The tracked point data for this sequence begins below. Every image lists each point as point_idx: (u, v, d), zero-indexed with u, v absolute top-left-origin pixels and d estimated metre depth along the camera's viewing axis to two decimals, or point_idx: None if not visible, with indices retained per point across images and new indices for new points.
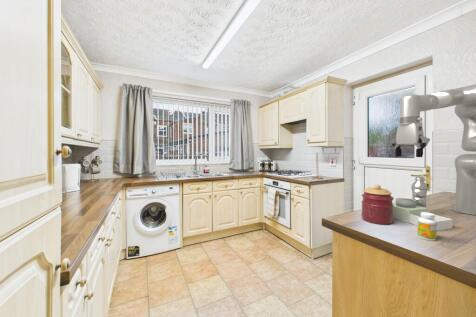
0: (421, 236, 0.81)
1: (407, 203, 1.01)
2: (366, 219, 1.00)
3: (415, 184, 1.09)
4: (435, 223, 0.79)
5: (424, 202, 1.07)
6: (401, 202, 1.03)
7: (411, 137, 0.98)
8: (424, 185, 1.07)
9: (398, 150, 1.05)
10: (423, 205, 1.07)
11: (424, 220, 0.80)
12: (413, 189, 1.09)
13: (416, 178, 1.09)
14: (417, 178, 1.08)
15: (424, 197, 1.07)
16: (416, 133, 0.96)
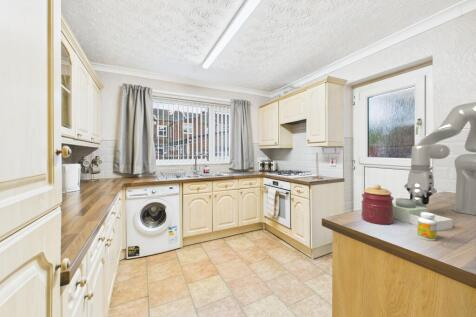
0: (421, 236, 0.81)
1: (407, 203, 1.01)
2: (366, 219, 1.00)
3: (415, 184, 1.09)
4: (435, 223, 0.79)
5: None
6: (401, 202, 1.03)
7: (422, 184, 1.06)
8: None
9: None
10: (423, 205, 1.07)
11: (424, 220, 0.80)
12: (413, 189, 1.09)
13: None
14: None
15: None
16: (427, 181, 1.04)
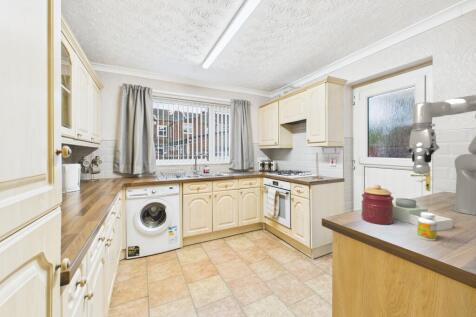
0: (421, 236, 0.81)
1: (407, 203, 1.01)
2: (366, 219, 1.00)
3: (417, 143, 1.08)
4: (435, 223, 0.79)
5: None
6: (401, 202, 1.03)
7: (424, 142, 1.05)
8: None
9: None
10: (425, 163, 1.06)
11: (424, 220, 0.80)
12: (415, 148, 1.08)
13: None
14: None
15: None
16: (429, 138, 1.03)
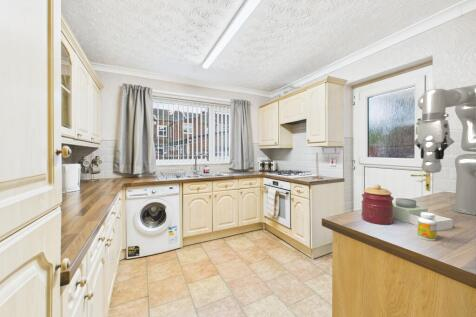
0: (421, 236, 0.81)
1: (407, 203, 1.01)
2: (366, 219, 1.00)
3: (427, 136, 0.92)
4: (435, 223, 0.79)
5: None
6: (401, 202, 1.03)
7: (436, 135, 0.89)
8: None
9: None
10: (437, 160, 0.91)
11: (424, 220, 0.80)
12: (425, 143, 0.93)
13: None
14: None
15: None
16: (442, 131, 0.88)
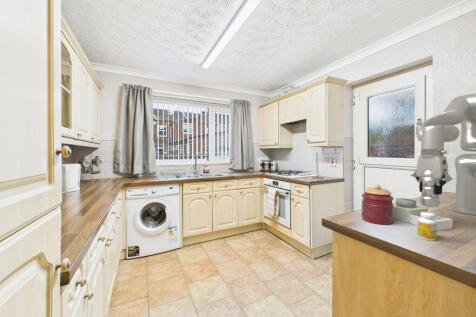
0: (421, 236, 0.81)
1: (407, 203, 1.01)
2: (366, 219, 1.00)
3: (425, 171, 0.93)
4: (435, 223, 0.79)
5: None
6: (401, 202, 1.03)
7: (434, 171, 0.90)
8: None
9: None
10: (435, 196, 0.91)
11: (424, 220, 0.80)
12: (423, 177, 0.94)
13: None
14: None
15: None
16: (440, 167, 0.89)
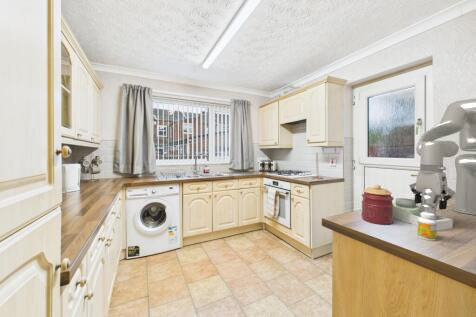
0: (421, 236, 0.81)
1: (407, 203, 1.01)
2: (366, 219, 1.00)
3: (427, 190, 0.93)
4: (435, 223, 0.79)
5: (434, 211, 0.93)
6: (401, 202, 1.03)
7: (434, 187, 0.91)
8: None
9: (418, 197, 0.98)
10: None
11: (424, 220, 0.80)
12: (424, 195, 0.94)
13: None
14: None
15: (435, 205, 0.92)
16: (439, 184, 0.89)
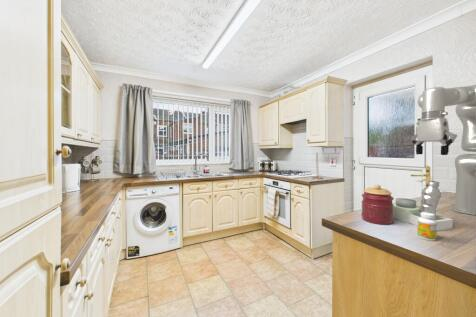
0: (421, 236, 0.81)
1: (407, 203, 1.01)
2: (366, 219, 1.00)
3: (427, 190, 0.93)
4: (435, 223, 0.79)
5: (434, 211, 0.93)
6: (401, 202, 1.03)
7: (435, 133, 0.90)
8: (438, 192, 0.91)
9: (419, 147, 0.98)
10: None
11: (424, 220, 0.80)
12: (424, 195, 0.94)
13: (429, 183, 0.93)
14: (430, 183, 0.92)
15: (435, 205, 0.92)
16: (441, 129, 0.88)
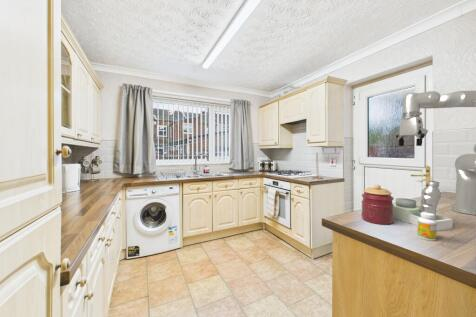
0: (421, 236, 0.81)
1: (407, 203, 1.01)
2: (366, 219, 1.00)
3: (427, 190, 0.93)
4: (435, 223, 0.79)
5: (434, 211, 0.93)
6: (401, 202, 1.03)
7: (412, 129, 1.16)
8: (438, 192, 0.91)
9: (401, 140, 1.23)
10: None
11: (424, 220, 0.80)
12: (424, 195, 0.94)
13: (429, 183, 0.93)
14: (430, 183, 0.92)
15: (435, 205, 0.92)
16: (416, 125, 1.14)
